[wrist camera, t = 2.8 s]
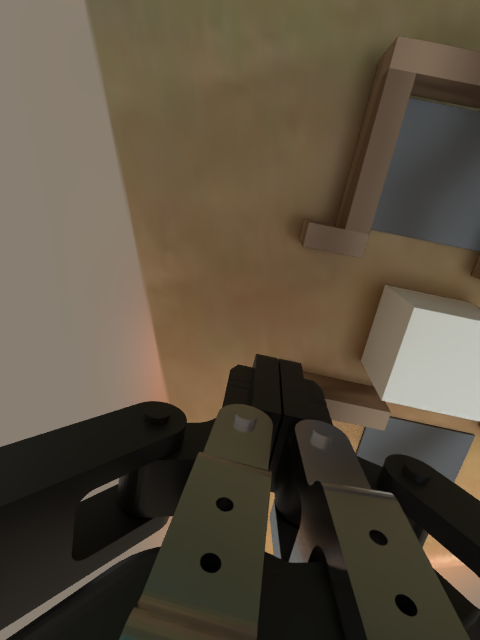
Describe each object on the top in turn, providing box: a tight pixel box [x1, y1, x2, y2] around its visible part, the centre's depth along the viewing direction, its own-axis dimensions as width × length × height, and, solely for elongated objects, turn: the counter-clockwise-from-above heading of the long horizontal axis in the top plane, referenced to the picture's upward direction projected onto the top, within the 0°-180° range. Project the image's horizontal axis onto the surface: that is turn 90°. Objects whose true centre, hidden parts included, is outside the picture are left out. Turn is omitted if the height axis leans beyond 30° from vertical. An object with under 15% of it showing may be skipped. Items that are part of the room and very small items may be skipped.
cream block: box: [361, 285, 480, 422], centre depth 21 cm, size 5×5×5 cm
